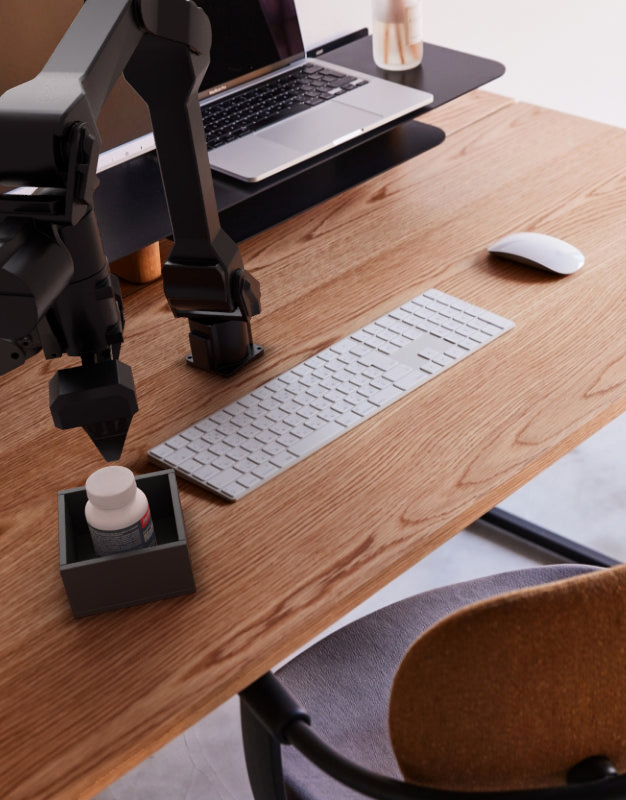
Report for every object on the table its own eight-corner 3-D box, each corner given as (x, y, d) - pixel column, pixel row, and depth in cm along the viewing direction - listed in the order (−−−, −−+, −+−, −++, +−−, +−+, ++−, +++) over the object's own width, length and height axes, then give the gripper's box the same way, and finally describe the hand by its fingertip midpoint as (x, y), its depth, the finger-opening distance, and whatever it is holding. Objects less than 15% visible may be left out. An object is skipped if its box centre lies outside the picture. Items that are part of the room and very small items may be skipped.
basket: (70, 538, 97) (57, 491, 93) (183, 514, 98) (173, 468, 95) (74, 619, 89) (59, 570, 85) (196, 592, 90) (186, 544, 87)
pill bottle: (163, 572, 92) (145, 493, 86) (101, 586, 91) (79, 508, 85) (155, 532, 96) (137, 455, 91) (96, 545, 95) (75, 468, 90)
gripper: (-36, 229, 87) (12, 383, 96) (-48, 351, 73) (11, 519, 82) (102, 207, 89) (136, 360, 98) (118, 321, 74) (156, 489, 84)
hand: (109, 426), depth 91 cm, fingers open, 9 cm apart
